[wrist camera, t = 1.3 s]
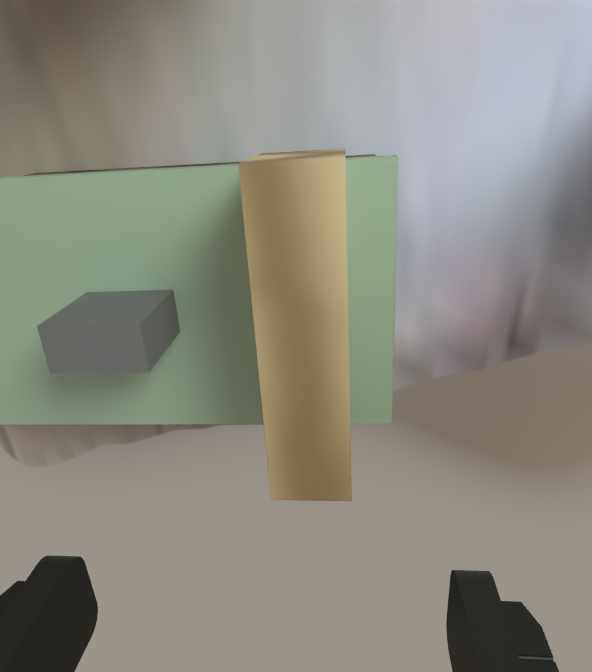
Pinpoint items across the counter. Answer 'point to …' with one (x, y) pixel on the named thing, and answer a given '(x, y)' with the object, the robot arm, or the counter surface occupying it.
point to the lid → (167, 297)
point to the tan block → (301, 317)
